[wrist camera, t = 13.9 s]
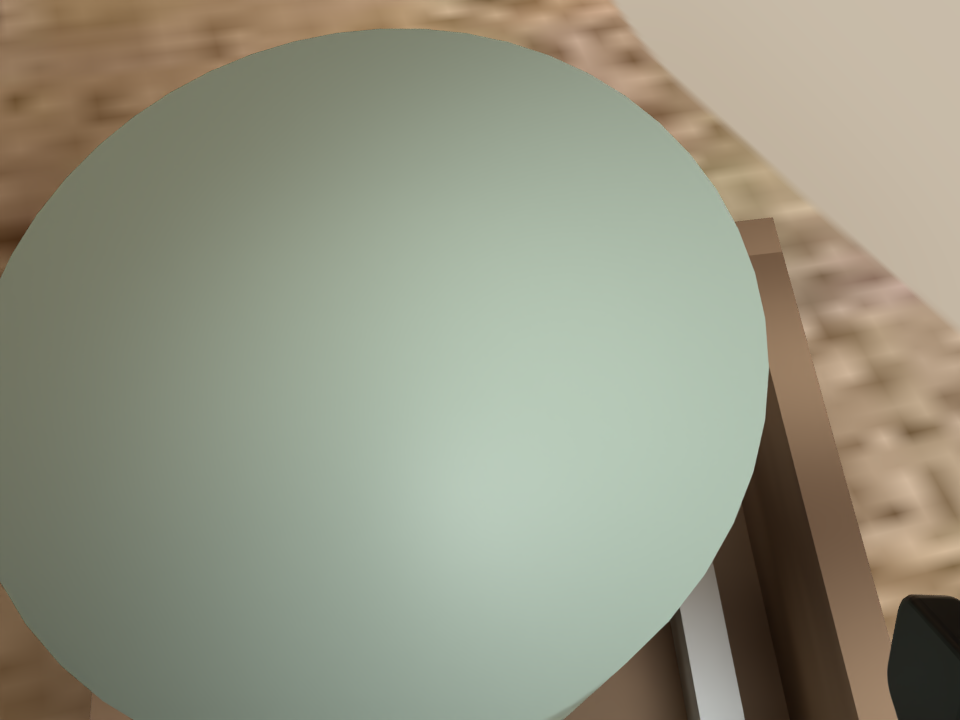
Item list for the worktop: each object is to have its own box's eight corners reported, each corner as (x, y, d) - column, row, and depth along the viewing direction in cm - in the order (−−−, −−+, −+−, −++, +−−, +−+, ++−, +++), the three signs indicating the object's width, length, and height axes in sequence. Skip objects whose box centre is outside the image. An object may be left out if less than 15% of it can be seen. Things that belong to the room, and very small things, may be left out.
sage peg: (557, 790, 17) (605, 957, 4) (332, 685, 18) (-205, 552, 5) (639, 552, 18) (855, 135, 6) (430, 470, 20) (215, -37, 7)
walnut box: (868, 941, 16) (996, 1022, 12) (190, 1006, 17) (55, 1109, 12) (724, 327, 22) (772, 217, 17) (213, 384, 22) (127, 292, 17)
